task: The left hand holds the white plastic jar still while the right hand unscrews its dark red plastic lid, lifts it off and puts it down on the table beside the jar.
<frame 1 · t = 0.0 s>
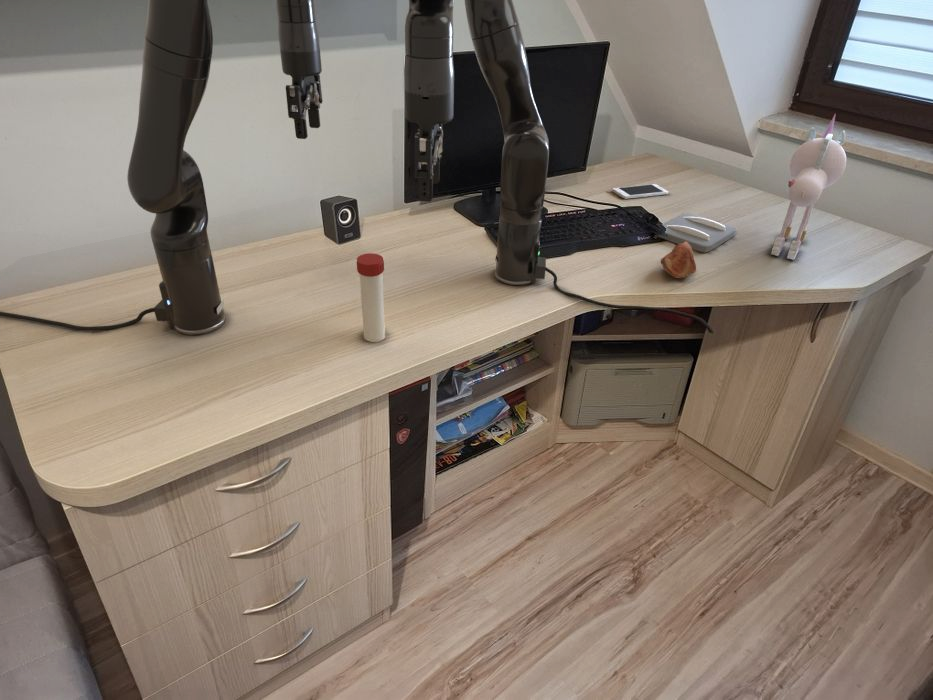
left hand: (429, 191, 105), 29 cm above the table, tool pointing down, fingers open, 8 cm apart
right hand: (308, 132, 132), 29 cm above the table, tool pointing down, fingers open, 8 cm apart
fossil: (675, 273, 149), on the table
toy: (791, 239, 168), on the table
smartphone: (639, 193, 194), on the table
jar: (374, 336, 122), on the table
lid: (370, 260, 113), point 16 cm above the table, screwed on, not yet turned
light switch: (694, 235, 168), on the table
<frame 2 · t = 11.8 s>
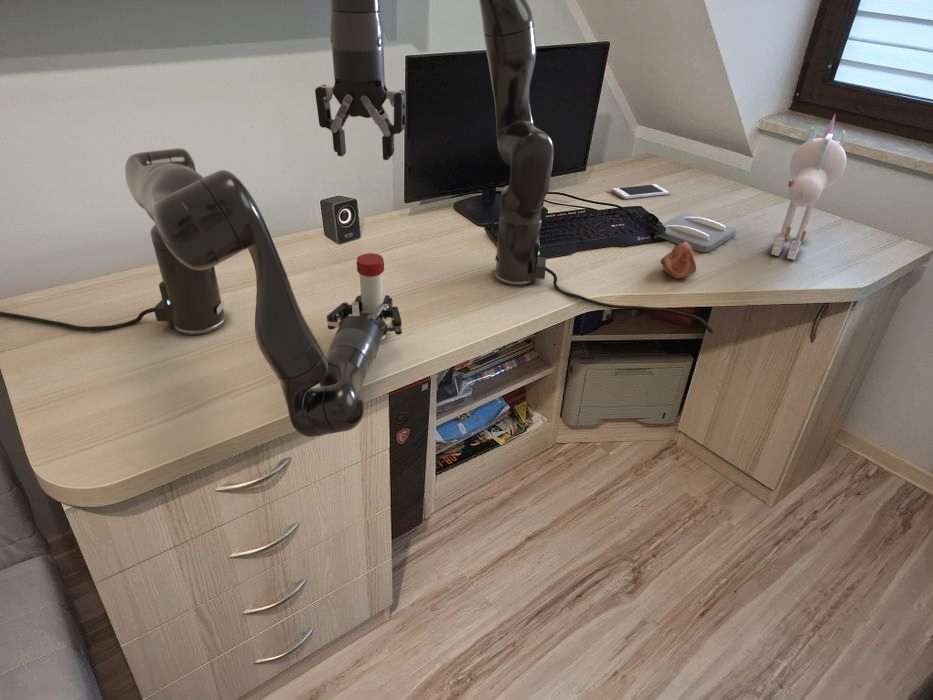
left hand: (375, 298, 121), 7 cm above the table, tool horizontal, fingers closed on jar, 4 cm apart
right hand: (364, 156, 103), 34 cm above the table, tool pointing down, fingers open, 7 cm apart
jar: (374, 336, 122), on the table, touching left hand
everything else where it was.
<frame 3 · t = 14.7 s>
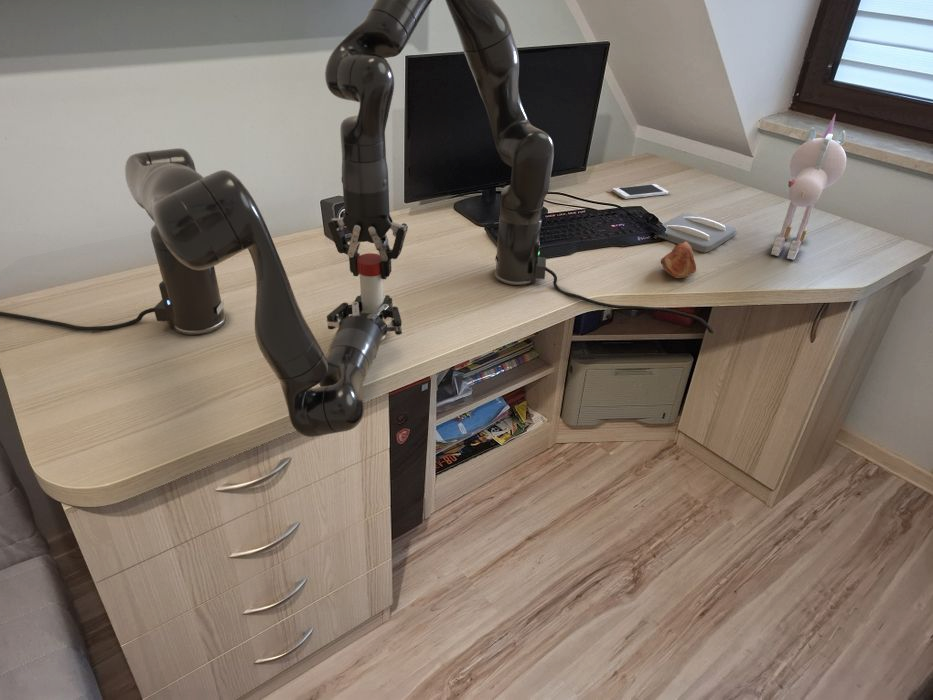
left hand: (375, 298, 121), 7 cm above the table, tool horizontal, fingers closed on jar, 4 cm apart
right hand: (370, 275, 115), 13 cm above the table, tool pointing down, fingers closed on lid, 4 cm apart
jar: (374, 336, 122), on the table, touching left hand
lid: (370, 260, 113), point 16 cm above the table, screwed on, not yet turned, touching right hand
everything else where it was.
when the right hand's fingers open (13 cm above the table, at t = 16.1 s): lid stays where it is, point 16 cm above the table.
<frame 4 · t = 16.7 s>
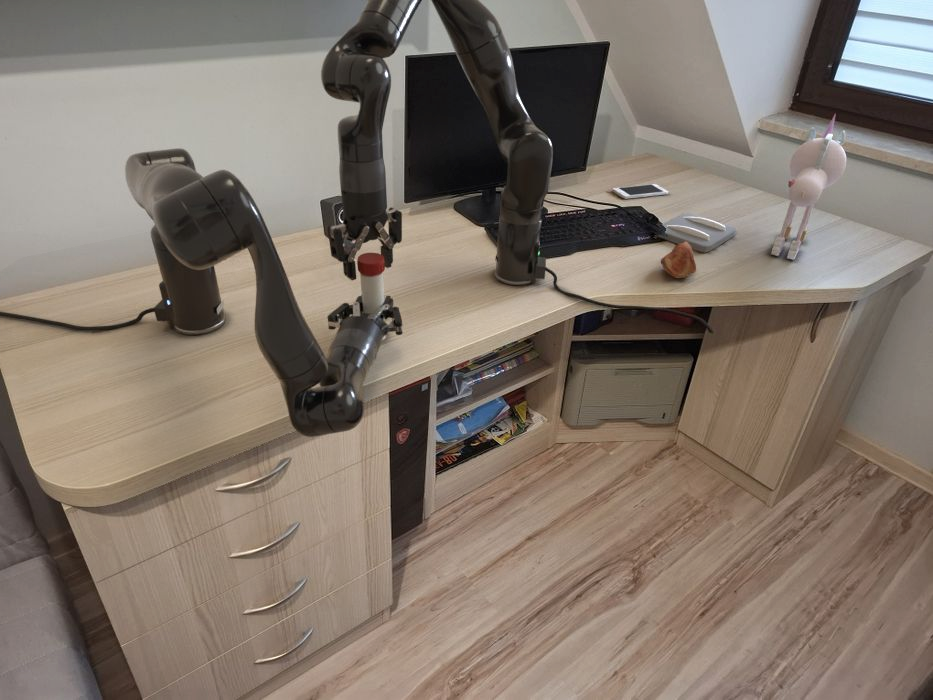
left hand: (376, 299, 120), 7 cm above the table, tool horizontal, fingers closed on jar, 4 cm apart
right hand: (369, 272, 115), 13 cm above the table, tool pointing down, fingers open, 7 cm apart
jar: (375, 336, 122), on the table, touching left hand
lid: (370, 259, 113), point 16 cm above the table, turned 75° so far, risen 0.2 cm, still on its thread
everything else where it was.
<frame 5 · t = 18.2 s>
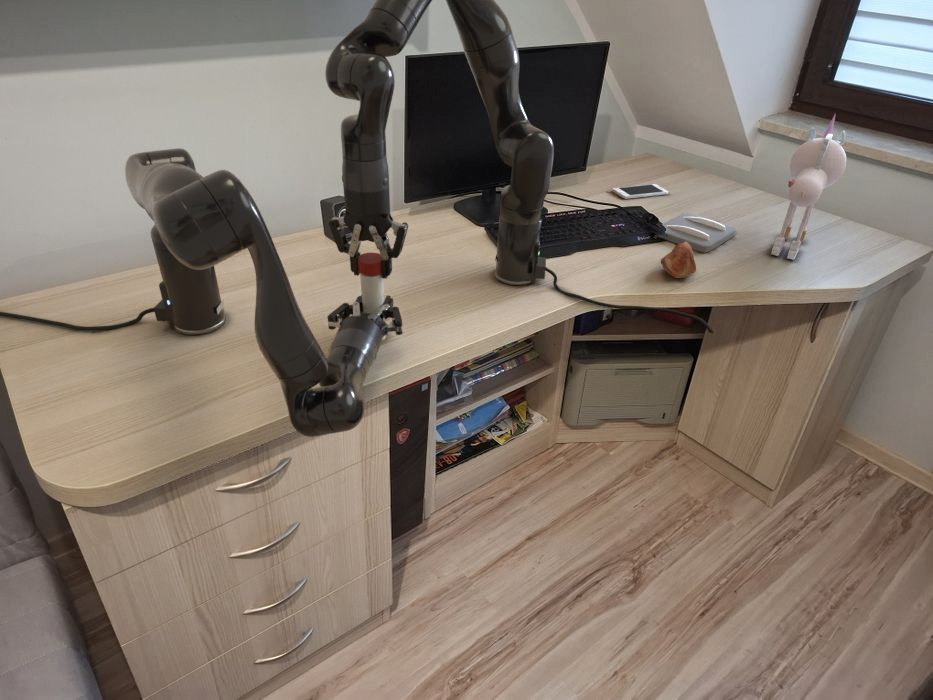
left hand: (376, 299, 120), 7 cm above the table, tool horizontal, fingers closed on jar, 4 cm apart
right hand: (371, 274, 115), 13 cm above the table, tool pointing down, fingers closed on lid, 4 cm apart
jar: (375, 336, 122), on the table, touching left hand
lid: (370, 259, 113), point 16 cm above the table, turned 75° so far, risen 0.2 cm, still on its thread, touching right hand
everything else where it was.
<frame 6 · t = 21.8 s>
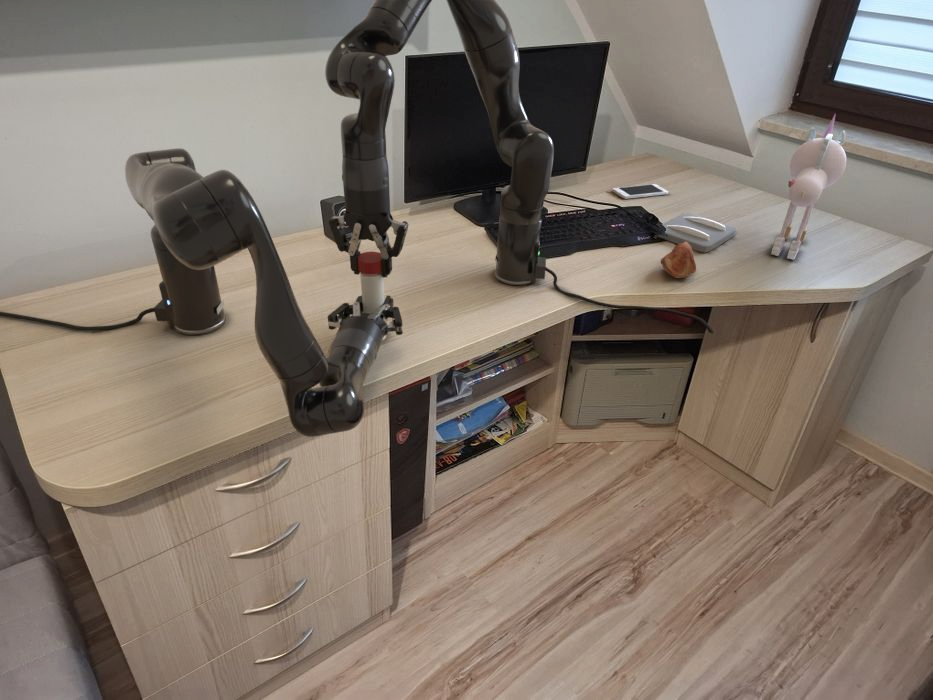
left hand: (376, 299, 120), 7 cm above the table, tool horizontal, fingers closed on jar, 4 cm apart
right hand: (371, 273, 115), 13 cm above the table, tool pointing down, fingers closed on lid, 4 cm apart
jar: (375, 336, 122), on the table, touching left hand
lid: (370, 258, 113), point 16 cm above the table, turned 151° so far, risen 0.4 cm, still on its thread, touching right hand
everything else where it was.
when the right hand's fingers open (0 cm above the table, at t = 29.4 s): lid drops 1 cm, point 2 cm above the table.
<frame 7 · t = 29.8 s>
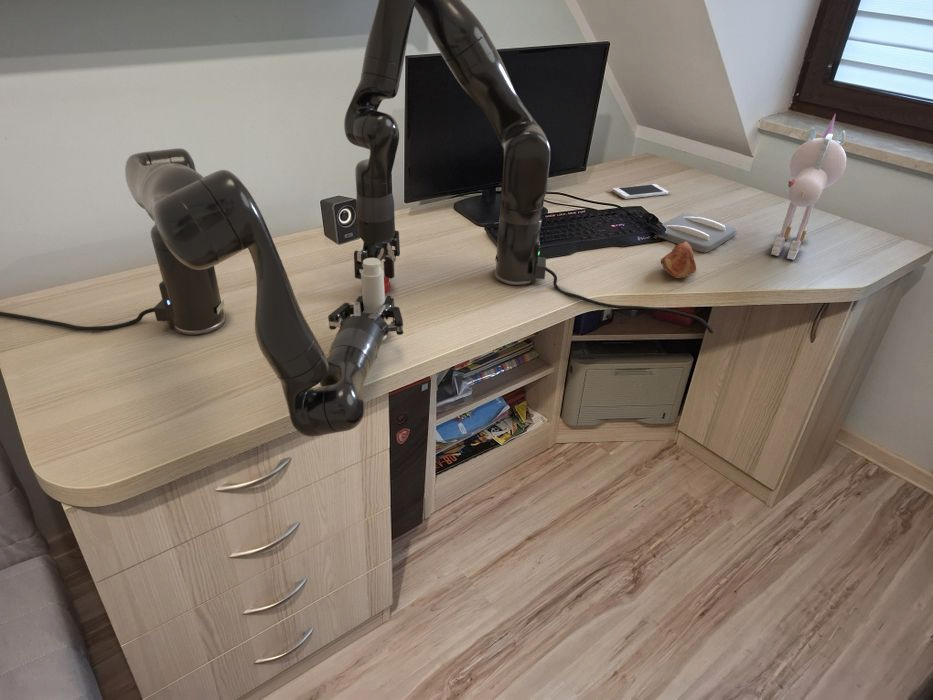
left hand: (377, 298, 121), 7 cm above the table, tool horizontal, fingers closed on jar, 4 cm apart
right hand: (379, 285, 137), 1 cm above the table, tool pointing down, fingers open, 8 cm apart
jar: (376, 336, 122), on the table, touching left hand
lid: (378, 281, 136), point 2 cm above the table, off its thread
everything else where it was.
when the left hand's fingers open (7 cm above the table, at t = 30.4 s): jar stays where it is, on the table.
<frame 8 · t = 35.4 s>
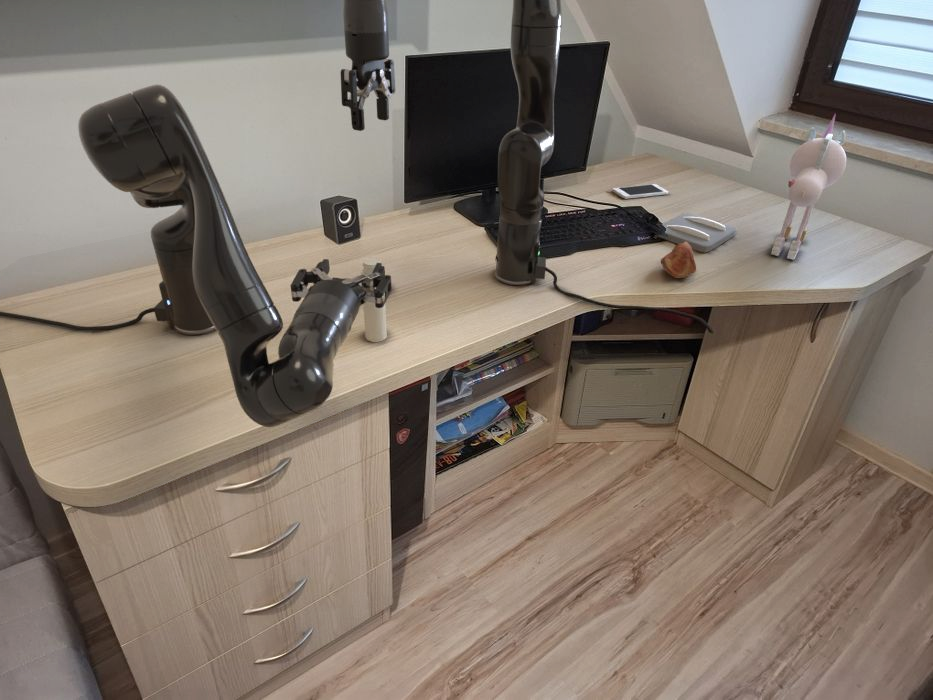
left hand: (353, 266, 101), 20 cm above the table, tool horizontal, fingers open, 8 cm apart
right hand: (371, 124, 118), 35 cm above the table, tool pointing down, fingers open, 8 cm apart
jar: (376, 336, 122), on the table
everything else where it was.
at the end: lid came off its thread; lid point 1.9 cm above the table; the left hand is holding nothing; the right hand is holding nothing; jar tilted 0°; jar moved 0.3 cm from its start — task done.
